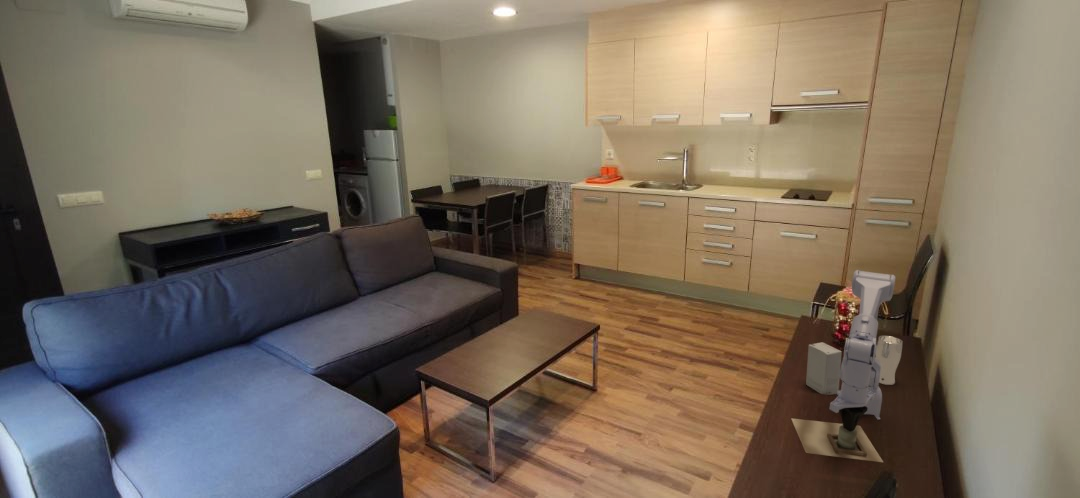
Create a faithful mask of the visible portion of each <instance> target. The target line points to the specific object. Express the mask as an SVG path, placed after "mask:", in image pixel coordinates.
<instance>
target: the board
mask: <svg viewBox="0 0 1080 498" xmlns="http://www.w3.org/2000/svg"><path fill="white" fill-rule="evenodd" d="M790 420H791V422H792V424H793V427H794V428H795V431H796V433H797V436H798V437H799V440H800V442H801V445H802V448H803V450H804V452H805V453H806V454H812V455H820V456H828V457H829V456H830V457H836V458H845V459H853V460H859V461H860V460H861V461H868V462H877V463H884V460H883V459H882V457H881V456H880V454H879V453H878V451H877V450H876V449H875V447H874V445H873V444H872V442H871V440H870V438H868V436H867V434H866V432H865V431H864V430H863V428H862V426H861V425H858V424H857V425H856V427H855V429H856V430H857V436H856V443H855V449H854V450H848V449H842V448H840V447H839V446H838V445H837V441H838V434H839V427H840V426H841V425H843V423H838V422H837V423H836V422H829V421H818V420H812V419H811V420H809V419H801V418H790Z"/></svg>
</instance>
